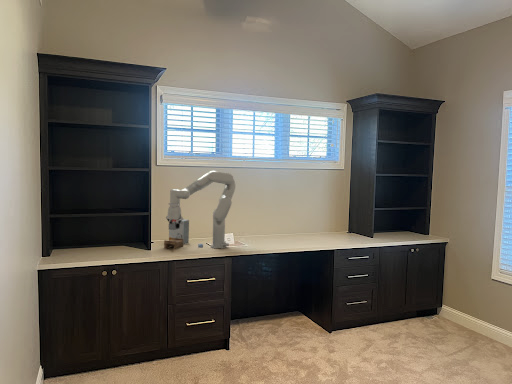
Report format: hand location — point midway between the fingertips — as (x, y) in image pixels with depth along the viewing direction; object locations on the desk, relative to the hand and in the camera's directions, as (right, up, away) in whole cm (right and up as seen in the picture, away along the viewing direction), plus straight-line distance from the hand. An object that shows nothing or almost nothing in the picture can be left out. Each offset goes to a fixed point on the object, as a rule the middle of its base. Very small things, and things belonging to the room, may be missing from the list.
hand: (174, 227), depth 301 cm
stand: (-1, -16, +1) cm, 16 cm away
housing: (0, -1, 0) cm, 1 cm away
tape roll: (+20, -16, +6) cm, 26 cm away
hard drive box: (0, -15, +18) cm, 24 cm away
